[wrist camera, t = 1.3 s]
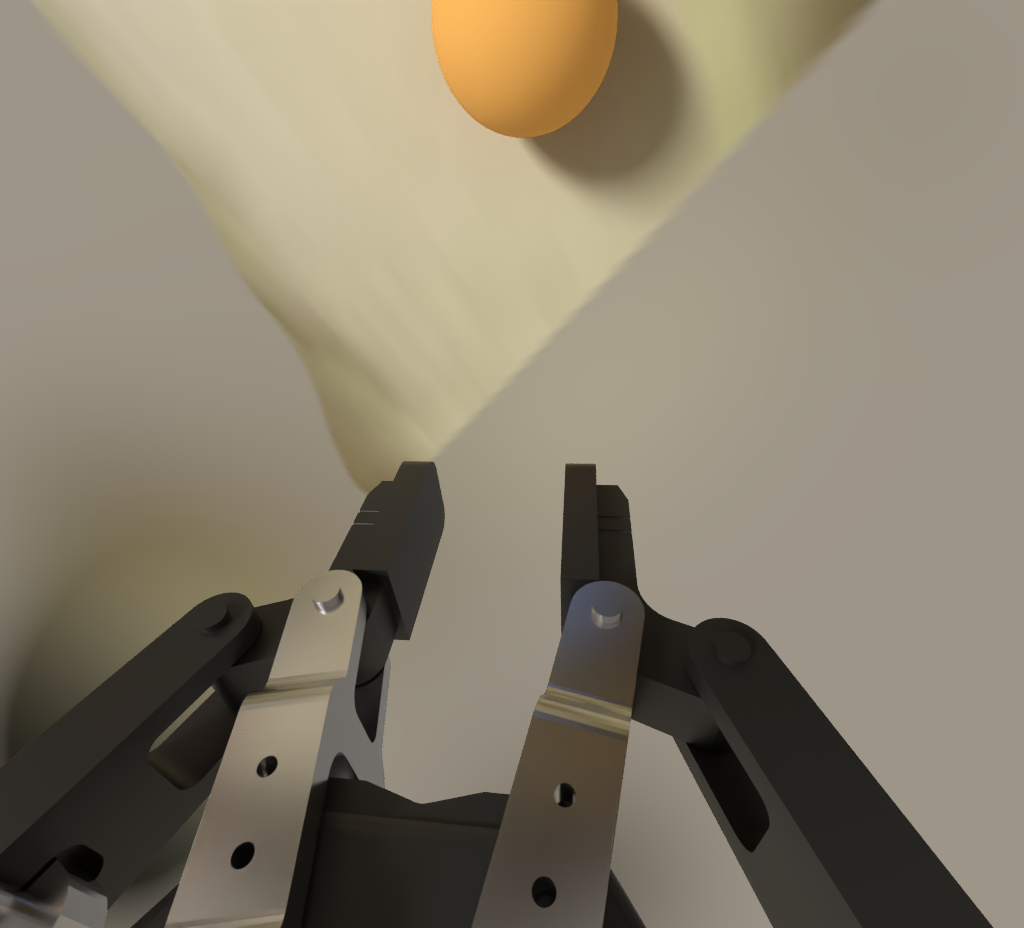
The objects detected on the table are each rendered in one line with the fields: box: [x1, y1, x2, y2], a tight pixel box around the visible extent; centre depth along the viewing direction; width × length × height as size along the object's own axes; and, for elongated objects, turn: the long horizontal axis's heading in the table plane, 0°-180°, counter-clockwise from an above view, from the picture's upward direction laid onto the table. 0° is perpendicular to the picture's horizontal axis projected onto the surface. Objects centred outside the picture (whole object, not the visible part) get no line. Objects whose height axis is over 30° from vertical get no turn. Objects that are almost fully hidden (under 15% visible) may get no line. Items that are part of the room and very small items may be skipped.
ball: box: [432, 0, 618, 138], centre depth 17 cm, size 6×6×6 cm
